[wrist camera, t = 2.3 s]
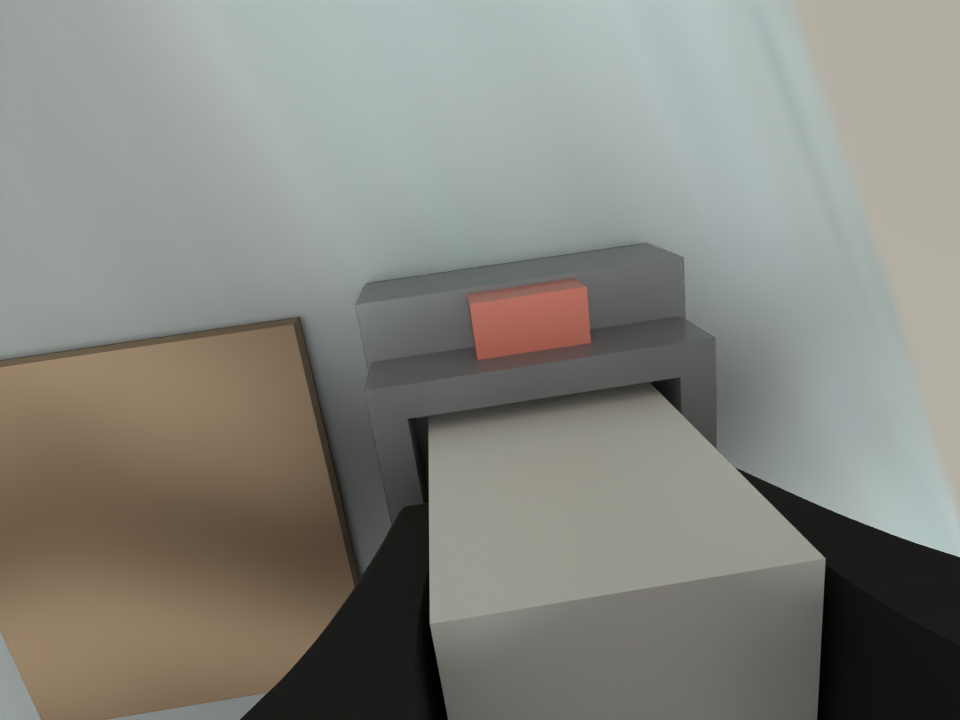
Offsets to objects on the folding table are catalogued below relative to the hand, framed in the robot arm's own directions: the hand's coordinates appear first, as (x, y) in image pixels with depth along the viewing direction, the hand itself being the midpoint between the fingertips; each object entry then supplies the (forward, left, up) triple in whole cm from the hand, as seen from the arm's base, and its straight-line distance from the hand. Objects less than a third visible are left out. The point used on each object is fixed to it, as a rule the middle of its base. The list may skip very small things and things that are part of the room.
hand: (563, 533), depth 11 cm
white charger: (0, 0, -2) cm, 2 cm away
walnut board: (-1, +9, -4) cm, 9 cm away
